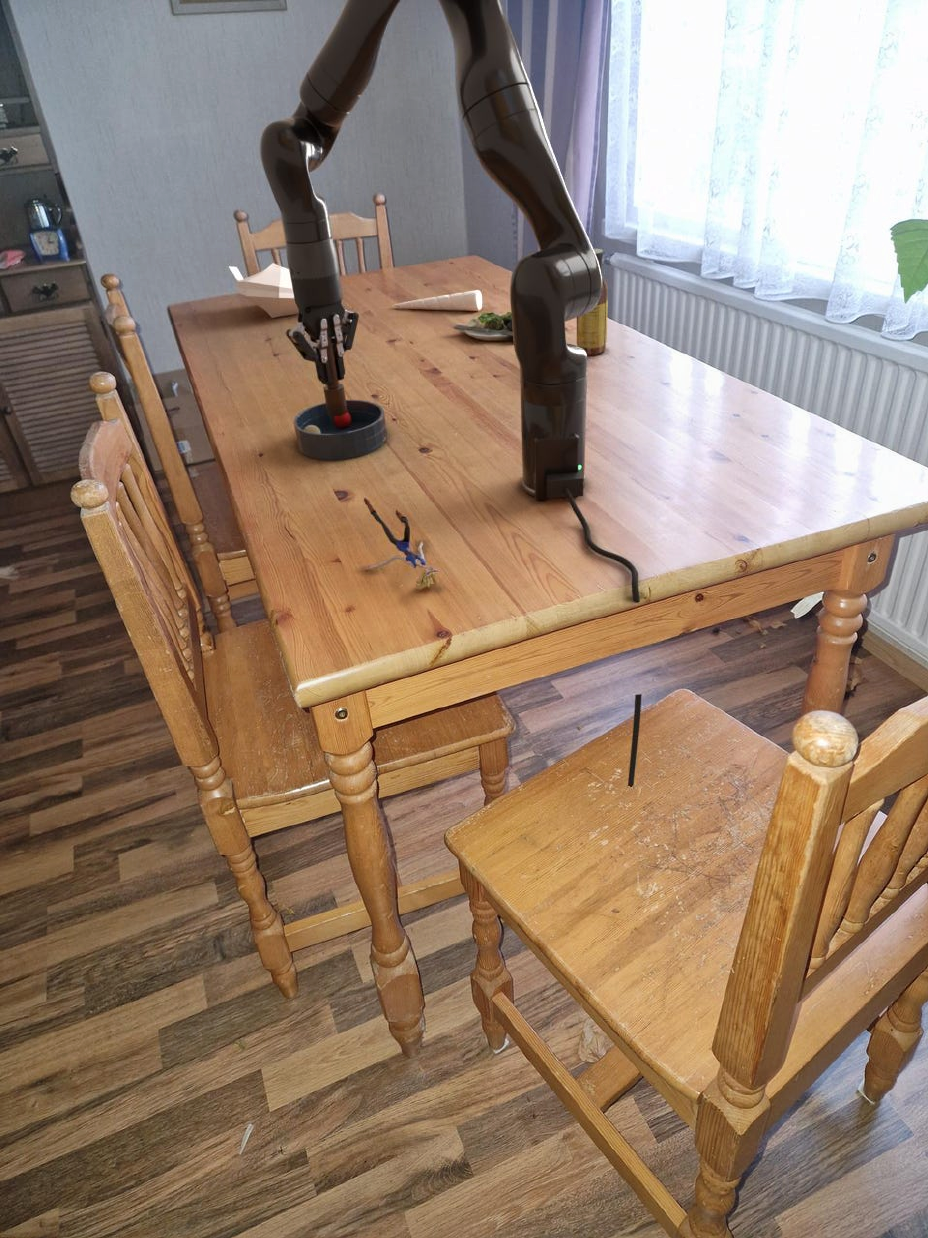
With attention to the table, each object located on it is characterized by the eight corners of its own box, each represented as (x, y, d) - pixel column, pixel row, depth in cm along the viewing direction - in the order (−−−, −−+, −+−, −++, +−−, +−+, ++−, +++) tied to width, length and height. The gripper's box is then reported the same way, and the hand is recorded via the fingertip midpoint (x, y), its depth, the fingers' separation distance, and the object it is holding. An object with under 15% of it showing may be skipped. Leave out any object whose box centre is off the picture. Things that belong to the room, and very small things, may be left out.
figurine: (411, 648, 103) (351, 545, 114) (469, 613, 103) (404, 513, 114) (384, 608, 94) (322, 500, 105) (448, 570, 95) (379, 466, 105)
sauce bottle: (586, 344, 174) (589, 245, 162) (612, 349, 170) (616, 247, 159) (569, 353, 170) (571, 252, 158) (595, 358, 166) (598, 255, 155)
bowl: (384, 456, 134) (381, 431, 132) (292, 463, 134) (287, 437, 132) (389, 420, 147) (386, 396, 144) (304, 426, 147) (300, 402, 144)
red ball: (350, 426, 142) (347, 409, 141) (334, 429, 142) (330, 412, 142) (354, 425, 145) (350, 408, 144) (337, 428, 145) (334, 411, 144)
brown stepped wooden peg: (346, 415, 136) (333, 330, 128) (326, 417, 136) (311, 332, 128) (348, 408, 139) (335, 324, 130) (328, 409, 139) (314, 326, 130)
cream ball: (325, 441, 139) (315, 433, 136) (310, 448, 140) (300, 440, 137) (323, 427, 140) (313, 418, 137) (308, 434, 141) (298, 425, 138)
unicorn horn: (398, 303, 210) (396, 284, 207) (484, 308, 202) (483, 287, 199) (390, 309, 206) (388, 289, 203) (477, 313, 198) (476, 293, 195)
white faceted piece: (348, 304, 213) (341, 253, 205) (284, 330, 197) (273, 276, 190) (280, 295, 225) (271, 247, 217) (214, 319, 209) (202, 268, 202)
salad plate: (448, 345, 179) (447, 324, 177) (459, 321, 193) (458, 301, 191) (536, 343, 177) (536, 322, 174) (540, 319, 191) (540, 299, 188)
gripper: (292, 283, 118) (314, 398, 128) (364, 263, 126) (378, 373, 136) (262, 277, 122) (285, 389, 132) (333, 258, 130) (350, 365, 140)
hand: (332, 380), depth 134 cm, fingers closed on brown stepped wooden peg, 2 cm apart
